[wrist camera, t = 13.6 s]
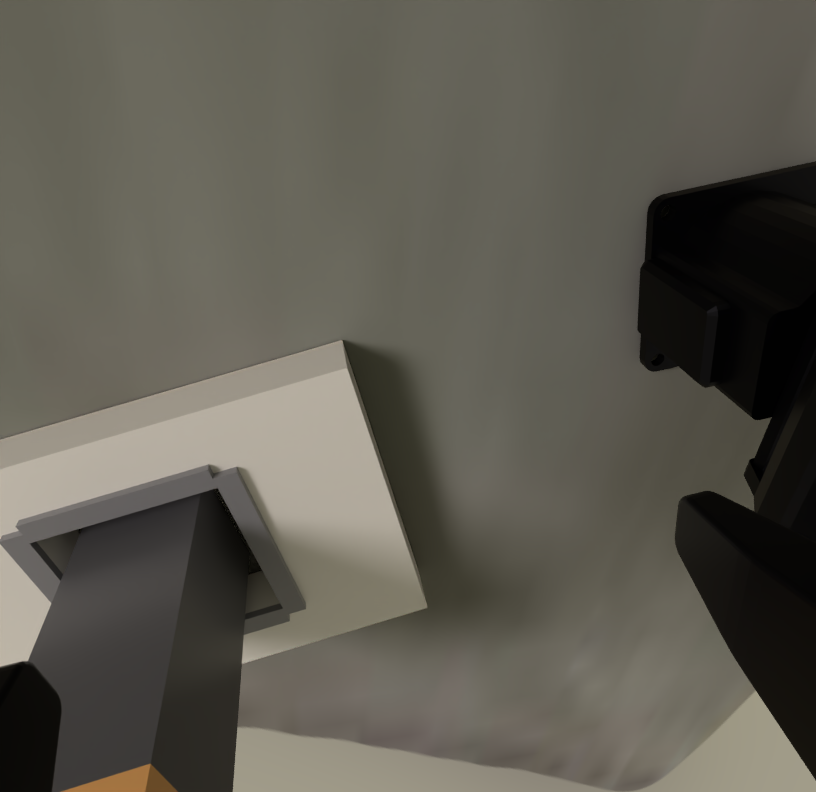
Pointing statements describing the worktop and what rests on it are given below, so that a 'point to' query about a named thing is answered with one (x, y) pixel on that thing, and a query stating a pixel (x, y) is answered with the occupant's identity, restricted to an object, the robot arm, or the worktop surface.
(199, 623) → the plug
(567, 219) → the worktop surface
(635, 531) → the worktop surface
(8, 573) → the socket plate
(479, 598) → the worktop surface
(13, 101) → the worktop surface
